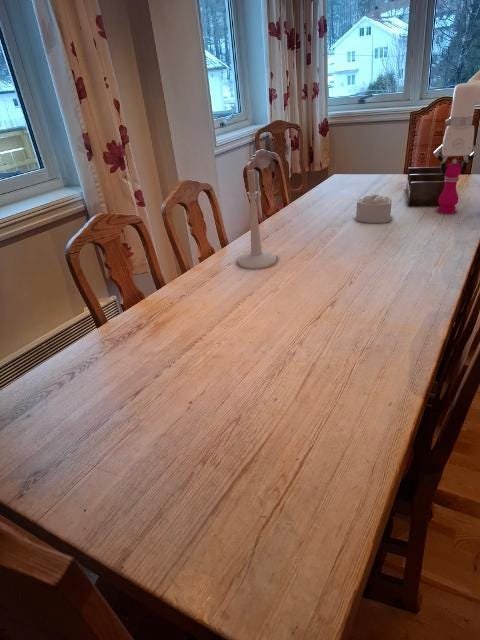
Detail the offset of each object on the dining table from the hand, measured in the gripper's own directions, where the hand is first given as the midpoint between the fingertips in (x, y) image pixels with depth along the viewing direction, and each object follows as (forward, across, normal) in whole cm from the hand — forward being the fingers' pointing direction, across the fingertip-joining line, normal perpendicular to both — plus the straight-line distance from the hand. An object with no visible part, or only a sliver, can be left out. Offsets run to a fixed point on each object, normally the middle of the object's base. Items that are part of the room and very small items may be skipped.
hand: (452, 172), depth 164 cm
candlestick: (+15, -64, -56) cm, 86 cm away
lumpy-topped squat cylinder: (+15, -28, -10) cm, 33 cm away
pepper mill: (+15, 0, 0) cm, 15 cm away
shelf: (+15, -6, +21) cm, 26 cm away
